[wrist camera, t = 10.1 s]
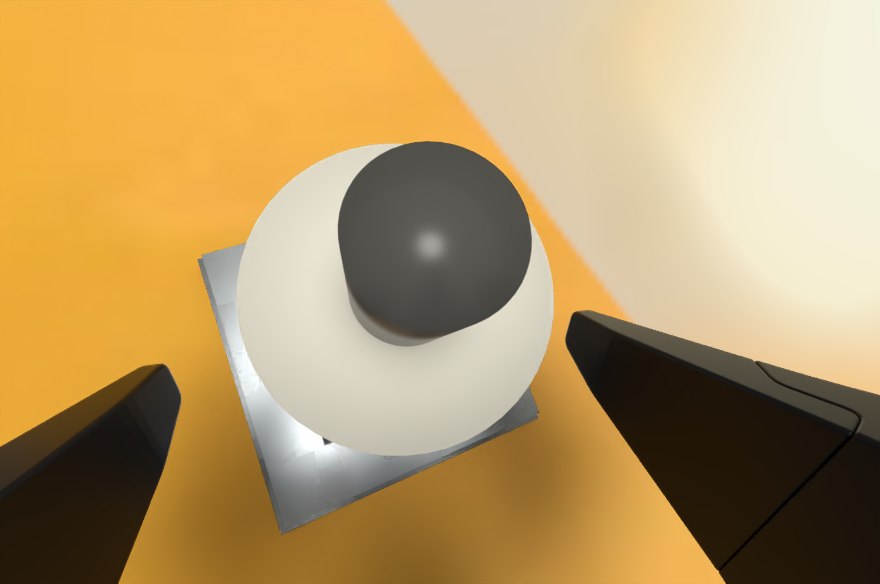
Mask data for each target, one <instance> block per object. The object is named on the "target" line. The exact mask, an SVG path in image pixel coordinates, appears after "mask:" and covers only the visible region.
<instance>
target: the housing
mask: <svg viewBox="0 0 880 584" xmlns="http://www.w3.org/2000/svg"><path fill="white" fill-rule="evenodd" d="M245 246H246V243H244V244H240V245H237V246H233V247H229V248H226V249H222V250H218V251H215V252H211V253H208V254H204V255H202V258H201V259H198V263H199V266H200V269H201V272H202V276H203V279H204V282H205V286H206V289H207V292H208V295H209V299H210V302H211V305H212V308H213V312H214V315H215V318H216V322H217V325H218V328H219V331H220V335H221V338H222V341H223V345H224V348H225V351H226V354H227V358H228V361H229V364H230V368H231V371H232V374H233V377H234V381H235V384H236V387H237V391H238V394H239V397H240V400H241V404H242V407H243V410H244V414H245V417H246V420H247V423H248V427H249V430H250V433H251V436H252V440H253V443H254V446H255V450H256V453H257V456H258V459H259V463H260V466H261V469H262V473H263V476H264V479H265V482H266V486H267V489H268V492H269V496H270V499H271V502H272V505H273V509H274V512H275V515H276V519H277V522H278V525H279V528H280V532H281V535H282V534H284V533H286V532H289V531H291V530H293V529H295V528H297V527H300V526H302V525H304V524H306V523H308V522H311V521H313V520H315V519H317V518H319V517H322V516H324V515H326V514H328V513H330V512H333V511H335V510H337V509H339V508H341V507H344V506H346V505H348V504H350V503H352V502H355V501H357V500H359V499H361V498H363V497H366V496H368V495H370V494H372V493H374V492H377V491H379V490H381V489H383V488H385V487H388V486H390V485H392V484H394V483H396V482H399V481H401V480H403V479H405V478H408V477H410V476H412V475H414V474H416V473H419V472H421V471H423V470H425V469H427V468H430V467H432V466H434V465H436V464H438V463H441V462H443V461H445V460H447V459H449V458H452V457H454V456H456V455H458V454H460V453H463V452H465V451H467V450H469V449H471V448H474V447H476V446H478V445H480V444H482V443H485V442H487V441H489V440H491V439H493V438H496V437H498V436H500V435H502V434H504V433H507V432H509V431H511V430H513V429H515V428H518V427H520V426H522V425H524V424H526V423H529V422H531V421H533V420H535V419H537V418H538V417H537V414H538V413H539V411H538V409H537V406H536V404H535V401H534V399H533V396H532V393H531V391H530V388H529V387H528V388H527V389H526V391H525V392H524V393H523V395H522V396H521V397H520V399H519V400H518V401H517V403H516V404H515V405H514V406H513V407H512V408H511V409H510V410H509V411H508V412H507V413H506V414H505V415H504V416H503V417H502V418H500V419H499V420H498V421H496V422H495V423H494V424H492V425H491V426H490V427H489V428H487V429H486V430H484V431H482V432H481V433H479V434H477V435H476V436H474V437H472V438H470V439H469V440H467V441H464V442H462V443H459V444H457V445H454V446H452V447H449V448H446V449H442V450H438V451H434V452H430V453H427V454H418V455H409V456H388V455H377V454H371V453H365V452H359V451H356V450H353V449H350V448H347V447H344V446H341V445H337V444H335V443H333V442H331V441H329V440H327V439H325V438H323V437H321V436H319V435H317V434H315V433H314V432H312V431H311V430H309V429H308V428H306V427H305V426H303V425H302V424H300V423H299V422H297V421H296V420H295V419H294V418H293V417H292V416H291V415H290V414H289V413H287V412H286V411H285V410H284V409H283V408H282V407H281V406H280V405H279V404H278V403H277V401H276V400H275V399H274V398H273V397H272V395H271V394H270V393H269V392H268V391H267V389H266V388H265V386H264V385H263V383H262V382H261V380H260V378H259V377H258V375H257V373H256V372H255V370H254V368H253V366H252V364H251V361H250V359H249V357H248V354H247V352H246V350H245V347H244V343H243V339H242V336H241V332H240V328H239V322H238V314H237V305H236V300H237V279H238V273H239V267H240V261H241V258H242V255H243V252H244V249H245Z"/></svg>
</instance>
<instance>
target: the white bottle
mask: <svg viewBox="0 0 880 584" xmlns="http://www.w3.org/2000/svg"><path fill="white" fill-rule="evenodd" d="M236 305H237V314H238V322H239V328H240V332H241V336H242V339H243V343H244V347H245V350H246V352H247V354H248V357H249V359H250V361H251V364H252V366H253V368H254V370H255V372H256V373H257V375H258V377H259V378H260V380H261V382H262V383H263V385H264V386H265V388H266V389H267V391H268V392H269V393H270V394H271V395H272V397H273V398H274V399H275V400H276V401H277V403H278V404H279V405H280V406H281V407H282V408H283V409H284V410H285V411H286V412H287V413H289V414H290V415H291V416H292V417H293V418H294V419H295V420H296V421H297V422H299V423H300V424H302V425H303V426H305V427H306V428H308V429H309V430H311V431H312V432H314V433H315V434H317V435H319V436H321V437H323V438H325V439H327V440H329V441H331V442H333V443H335V444H337V445H341V446H344V447H347V448H350V449H353V450H356V451H359V452H365V453H371V454H377V455H388V456H409V455H418V454H427V453H430V452H434V451H438V450H442V449H446V448H449V447H452V446H454V445H457V444H459V443H462V442H464V441H467V440H469V439H470V438H472V437H474V436H476V435H477V434H479V433H481V432H482V431H484V430H486V429H487V428H489V427H490V426H491V425H492V424H494V423H495V422H496V421H498V420H499V419H500V418H502V417H503V416H504V415H505V414H506V413H507V412H508V411H509V410H510V409H511V408H512V407H513V406H514V405H515V404H516V403H517V401H518V400H519V399H520V397H521V396H522V395H523V393H524V392H525V391H526V389H527V388H528V387H529V385H530V383H531V382H532V380H533V378H534V376H535V375H536V373H537V371H538V369H539V367H540V365H541V362H542V360H543V357H544V355H545V352H546V349H547V346H548V342H549V338H550V334H551V329H552V321H553V314H554V292H553V283H552V275H551V271H550V267H549V262H548V258H547V255H546V253H545V250H544V247H543V244H542V242H541V239H540V237H539V235H538V233H537V231H536V229H535V228H534V226H533V224H532V222H531V221H530V219H529V217H528V214H527V211H526V208H525V205H524V203H523V201H522V199H521V197H520V195H519V193H518V192H517V190H516V189H515V187H514V186H513V184H512V183H511V182H510V180H509V179H508V178H507V177H506V176H505V175H504V173H502V172H501V171H500V170H499V169H498V168H497V167H496V166H495V165H494V164H492V163H491V162H489V161H488V160H487V159H485V158H484V157H482V156H480V155H478V154H477V153H475V152H473V151H470V150H468V149H466V148H463V147H460V146H457V145H453V144H449V143H443V142H430V141H425V142H414V143H409V144H377V145H368V146H363V147H358V148H353V149H349V150H346V151H343V152H340V153H337V154H334V155H332V156H330V157H328V158H326V159H323V160H321V161H319V162H317V163H315V164H313V165H312V166H310V167H309V168H307V169H306V170H304V171H303V172H301V173H300V174H298V175H297V176H296V177H294V178H293V179H292V180H291V181H290V182H289V183H287V184H286V185H285V186H284V187H283V188H282V189H281V190H280V191H279V192H278V193H277V194H276V196H275V197H274V198H273V199H272V200H271V201H270V202H269V203H268V205H267V206H266V208H265V209H264V211H263V212H262V214H261V215H260V217H259V218H258V220H257V221H256V223H255V225H254V227H253V229H252V231H251V233H250V236H249V238H248V240H247V242H246V246H245V249H244V252H243V255H242V258H241V261H240V267H239V273H238V279H237V300H236Z"/></svg>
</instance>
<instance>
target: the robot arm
mask: <svg viewBox="0 0 880 584" xmlns="http://www.w3.org/2000/svg"><path fill="white" fill-rule="evenodd" d="M565 342H566V346H567V349H568V351H569V353H570V354H571V356H572V358H573V360H574V362H575V363H576V365H577V367H578V369H579V371H580V373H581V374H582V376H583V378H584V380H585V382H586V383H587V385H588V387H589V389H590V390H591V392H592V394H593V395H594V397H595V398H596V400H597V401H598V402H599V404H600V405H601V407H602V408H603V410H604V411H605V412H606V414H607V415H608V417H609V418H610V419H611V421H612V422H613V424H614V425H615V426H616V428H617V429H618V431H619V432H620V434H621V435H622V436H623V438H624V439H625V441H626V442H627V443H628V445H629V446H630V448H631V449H632V451H633V452H634V453H635V455H636V456H637V458H638V459H639V460H640V462H641V463H642V465H643V466H644V468H645V469H646V470H647V472H648V473H649V475H650V476H651V477H652V479H653V480H654V482H655V483H656V485H657V486H658V487H659V489H660V490H661V492H662V493H663V494H664V496H665V497H666V499H667V500H668V502H669V503H670V504H671V506H672V507H673V509H674V510H675V511H676V513H677V514H678V516H679V517H680V519H681V520H682V521H683V523H684V524H685V526H686V527H687V528H688V530H689V531H690V533H691V534H692V536H693V537H694V538H695V540H696V541H697V543H698V544H699V545H700V547H701V548H702V550H703V551H704V553H705V554H706V555H707V557H708V558H709V560H710V561H711V563H712V564H713V565H714V567H715V568H716V569H717V570H718V571H719V574H720V575H721V577H722V578H723V580H724V581H725V583H726V584H880V395H877V394H874V393H870V392H866V391H862V390H859V389H855V388H851V387H847V386H844V385H840V384H836V383H833V382H829V381H826V380H822V379H818V378H815V377H811V376H807V375H804V374H801V373H797V372H794V371H790V370H787V369H784V368H780V367H777V366H774V365H770V364H767V363H763V362H760V361H755V362H754V361H753V360H751V359H748V358H745V357H742V356H738V355H735V354H732V353H729V352H725V351H722V350H719V349H716V348H712V347H709V346H706V345H702V344H699V343H695V342H692V341H689V340H686V339H683V338H679V337H676V336H673V335H669V334H666V333H663V332H659V331H656V330H653V329H649V328H646V327H643V326H640V325H637V324H633V323H630V322H627V321H623V320H620V319H617V318H613V317H610V316H607V315H604V314H600V313H597V312H594V311H590V310H585V311H577V312H574V313H573V314H572V316H571V319H570V322H569V326H568V330H567V333H566V338H565ZM180 405H181V394H180V390H179V388H178V386H177V384H176V382H175V380H174V378H173V376H172V374H171V372H170V370H169V368H168V367H167V366H166V365H164V364H155V365H147V366H142V367H139V368H138V369H136V370H134V371H132V372H131V373H129V374H127V375H125V376H124V377H122V378H120V379H118V380H117V381H115V382H113V383H111V384H110V385H108V386H106V387H104V388H103V389H101V390H99V391H97V392H96V393H94V394H92V395H90V396H89V397H87V398H85V399H83V400H82V401H80V402H78V403H76V404H75V405H73V406H71V407H69V408H68V409H66V410H64V411H62V412H61V413H59V414H57V415H55V416H53V417H52V418H50V419H48V420H46V421H45V422H43V423H41V424H39V425H38V426H36V427H34V428H32V429H31V430H29V431H27V432H25V433H24V434H22V435H20V436H18V437H17V438H15V439H13V440H11V441H10V442H8V443H6V444H4V445H3V446H1V447H0V584H118V583H119V580H120V578H121V575H122V573H123V570H124V568H125V565H126V563H127V560H128V558H129V555H130V553H131V550H132V548H133V545H134V543H135V540H136V538H137V535H138V533H139V530H140V528H141V525H142V523H143V520H144V517H145V515H146V512H147V510H148V507H149V505H150V502H151V500H152V497H153V495H154V492H155V490H156V487H157V485H158V482H159V480H160V477H161V474H162V472H163V469H164V466H165V463H166V459H167V456H168V452H169V448H170V444H171V440H172V436H173V433H174V429H175V425H176V421H177V417H178V413H179V409H180Z"/></svg>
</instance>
